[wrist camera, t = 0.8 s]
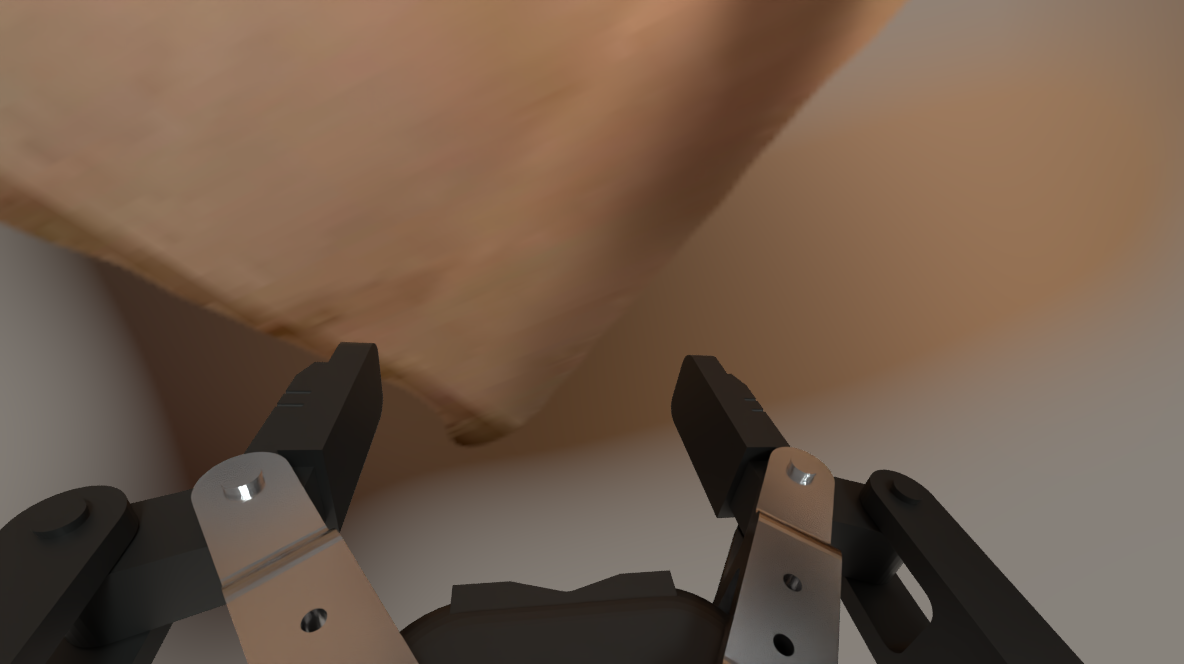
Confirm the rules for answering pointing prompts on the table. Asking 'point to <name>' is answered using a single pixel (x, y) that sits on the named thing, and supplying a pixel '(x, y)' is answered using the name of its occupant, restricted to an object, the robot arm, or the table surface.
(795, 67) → the table surface
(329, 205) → the table surface
